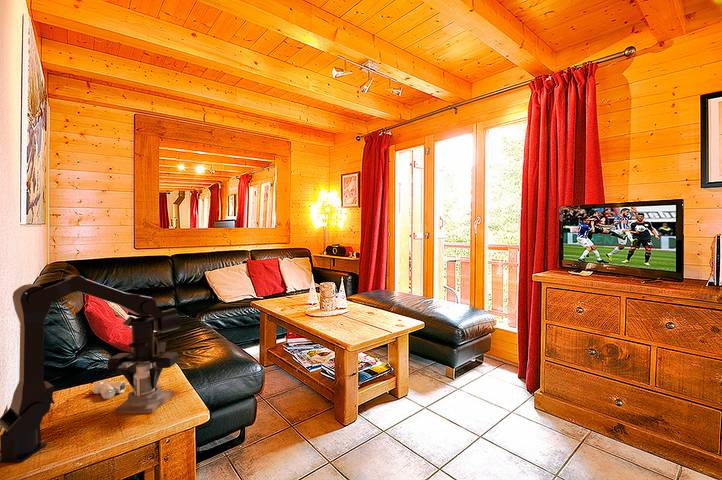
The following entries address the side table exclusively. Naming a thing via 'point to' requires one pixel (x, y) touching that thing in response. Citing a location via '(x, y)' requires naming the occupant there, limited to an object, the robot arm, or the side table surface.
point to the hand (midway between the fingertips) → (144, 388)
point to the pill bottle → (143, 380)
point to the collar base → (145, 408)
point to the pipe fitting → (109, 388)
